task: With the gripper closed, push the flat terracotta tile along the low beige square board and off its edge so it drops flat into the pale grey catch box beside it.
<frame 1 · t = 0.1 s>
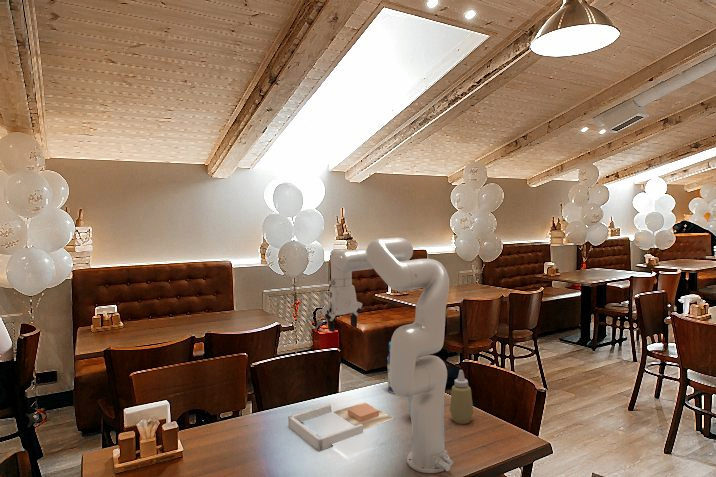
hand: (342, 328, 175), 31 cm above the table, tool pointing down, fingers open, 9 cm apart
beige square board: (363, 417, 171), on the table
catch box: (325, 430, 162), on the table
cup: (418, 421, 168), on the table
beverage bottle: (398, 391, 196), on the table
tile: (363, 415, 171), point 1 cm above the table, touching beige square board
squeeze bottle: (461, 421, 167), on the table
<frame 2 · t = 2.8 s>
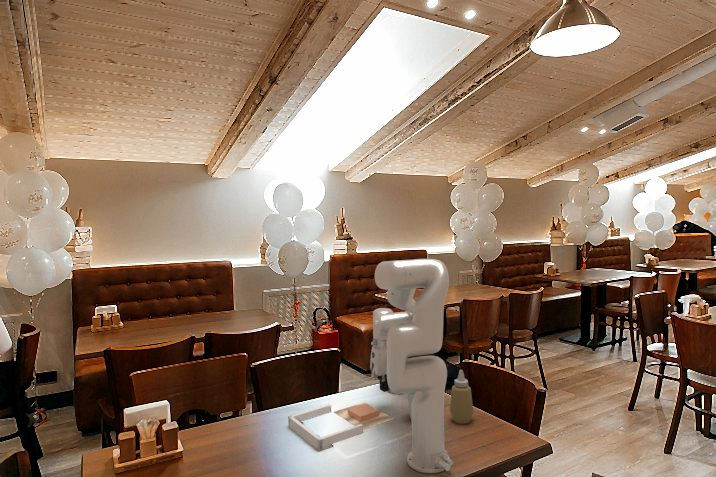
hand: (384, 390, 177), 7 cm above the table, tool pointing down, fingers closed
nothing on the table moved.
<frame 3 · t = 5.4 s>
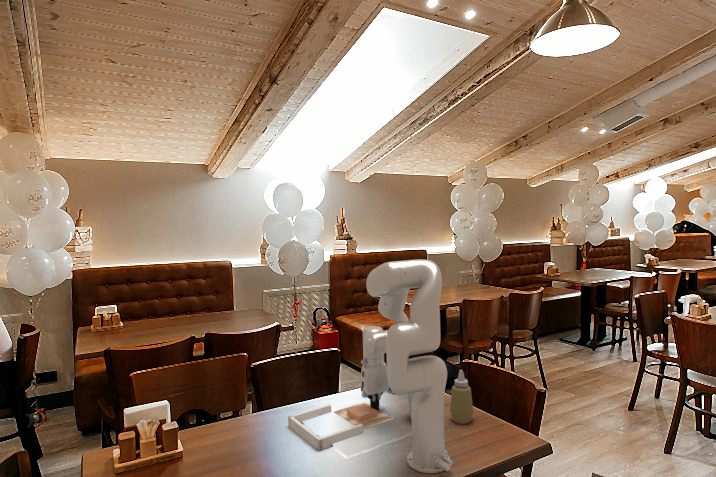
hand: (374, 409, 174), 2 cm above the table, tool pointing down, fingers closed
tile: (362, 415, 171), point 1 cm above the table, touching gripper, beige square board
everything else where it was.
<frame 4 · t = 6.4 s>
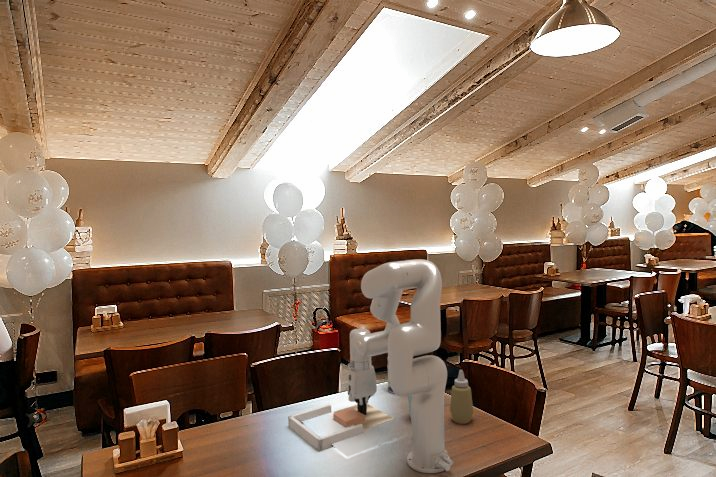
hand: (362, 413, 171), 2 cm above the table, tool pointing down, fingers closed
tile: (349, 419, 168), point 1 cm above the table, touching gripper, beige square board
everything else where it was.
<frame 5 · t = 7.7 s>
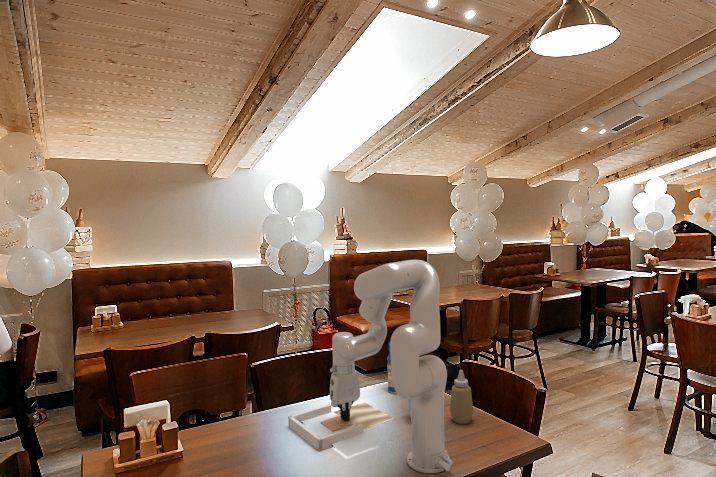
hand: (345, 419, 167), 2 cm above the table, tool pointing down, fingers closed
tile: (336, 428, 165), resting in catch box
everything else where it was.
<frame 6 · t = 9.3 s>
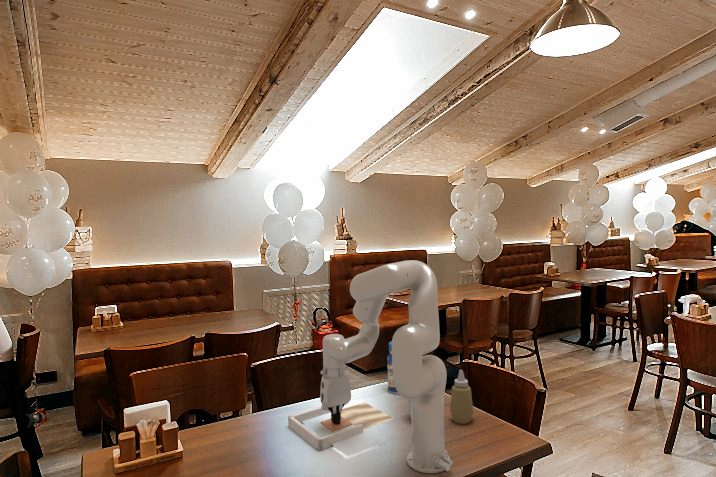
hand: (336, 422, 165), 2 cm above the table, tool pointing down, fingers closed
nothing on the table moved.
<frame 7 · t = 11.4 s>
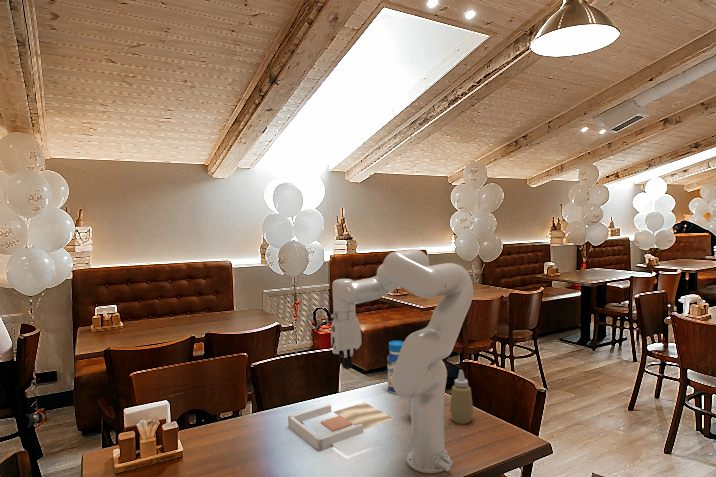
hand: (347, 367, 164), 21 cm above the table, tool pointing down, fingers closed
nothing on the table moved.
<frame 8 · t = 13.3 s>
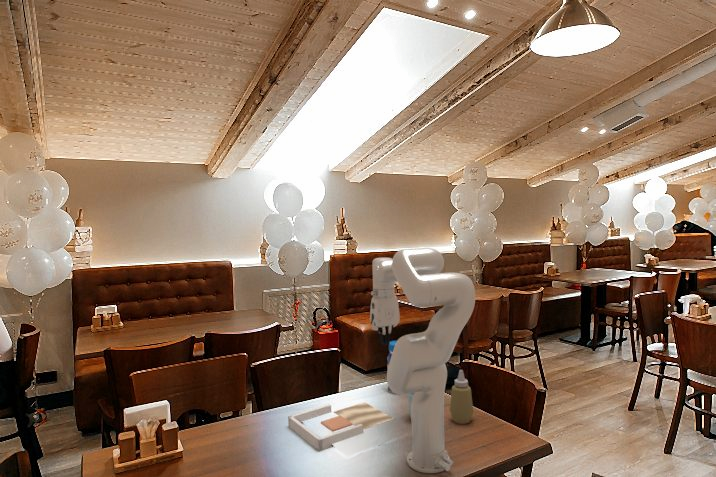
hand: (385, 344, 168), 27 cm above the table, tool pointing down, fingers closed
nothing on the table moved.
at the end: tile inside the target area on the catch box (4.3 cm from its centre), point -0.5 cm above the catch box's base; tile touching table; tile tilted 0° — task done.
